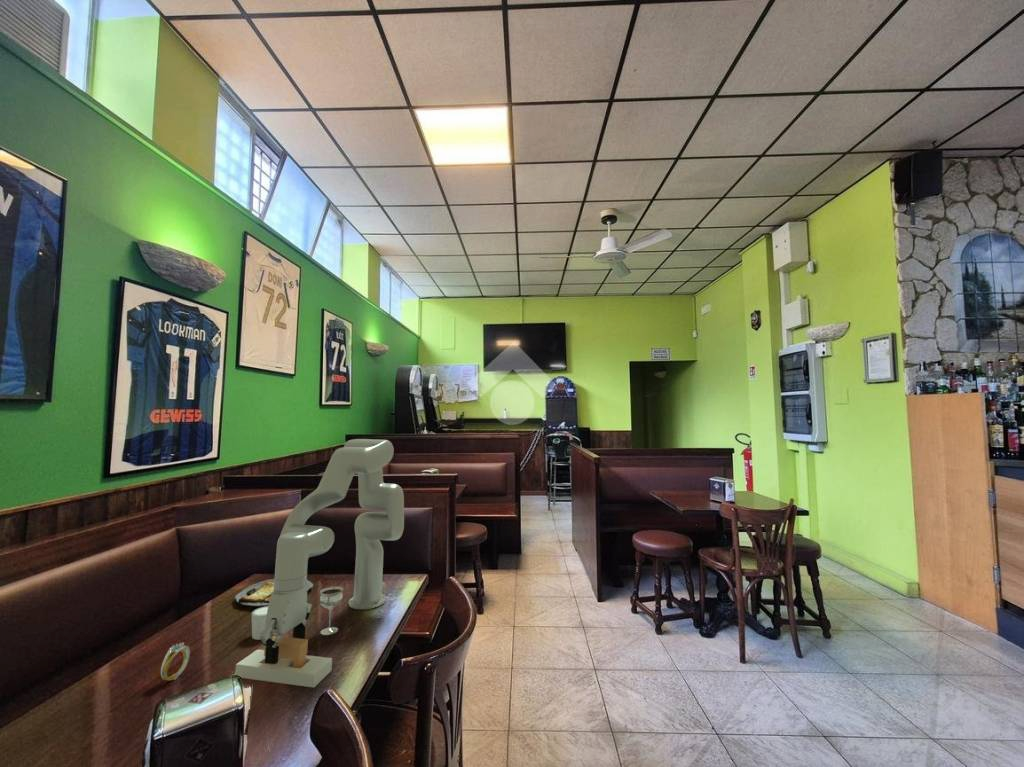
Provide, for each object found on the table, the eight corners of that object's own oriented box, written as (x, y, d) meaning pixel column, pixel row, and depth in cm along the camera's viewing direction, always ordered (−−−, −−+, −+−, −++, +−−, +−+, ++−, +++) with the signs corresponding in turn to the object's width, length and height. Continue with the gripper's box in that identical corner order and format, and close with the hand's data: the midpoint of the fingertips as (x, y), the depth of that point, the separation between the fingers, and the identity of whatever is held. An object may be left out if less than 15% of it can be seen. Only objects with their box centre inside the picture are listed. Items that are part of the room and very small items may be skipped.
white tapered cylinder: (263, 642, 118) (265, 616, 119) (243, 639, 119) (245, 614, 120) (281, 630, 125) (283, 606, 125) (262, 628, 126) (264, 604, 127)
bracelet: (181, 670, 104) (185, 637, 105) (192, 671, 103) (195, 638, 104) (154, 687, 97) (157, 651, 98) (165, 688, 97) (169, 652, 97)
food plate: (285, 612, 137) (286, 601, 138) (218, 610, 138) (219, 600, 138) (321, 584, 162) (322, 575, 162) (265, 583, 163) (265, 573, 163)
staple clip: (271, 668, 105) (273, 635, 106) (305, 672, 104) (308, 639, 104) (262, 674, 102) (265, 641, 103) (297, 679, 101) (300, 645, 102)
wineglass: (325, 638, 120) (328, 596, 122) (312, 632, 124) (315, 591, 125) (345, 629, 126) (348, 589, 127) (332, 623, 129) (335, 584, 131)
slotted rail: (256, 661, 108) (257, 649, 109) (331, 670, 105) (332, 658, 105) (234, 677, 101) (236, 664, 102) (314, 687, 98) (314, 674, 98)
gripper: (300, 570, 115) (295, 634, 113) (251, 594, 98) (245, 670, 96) (324, 572, 113) (320, 636, 111) (279, 597, 96) (273, 674, 94)
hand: (285, 652), depth 104 cm, fingers open, 9 cm apart
